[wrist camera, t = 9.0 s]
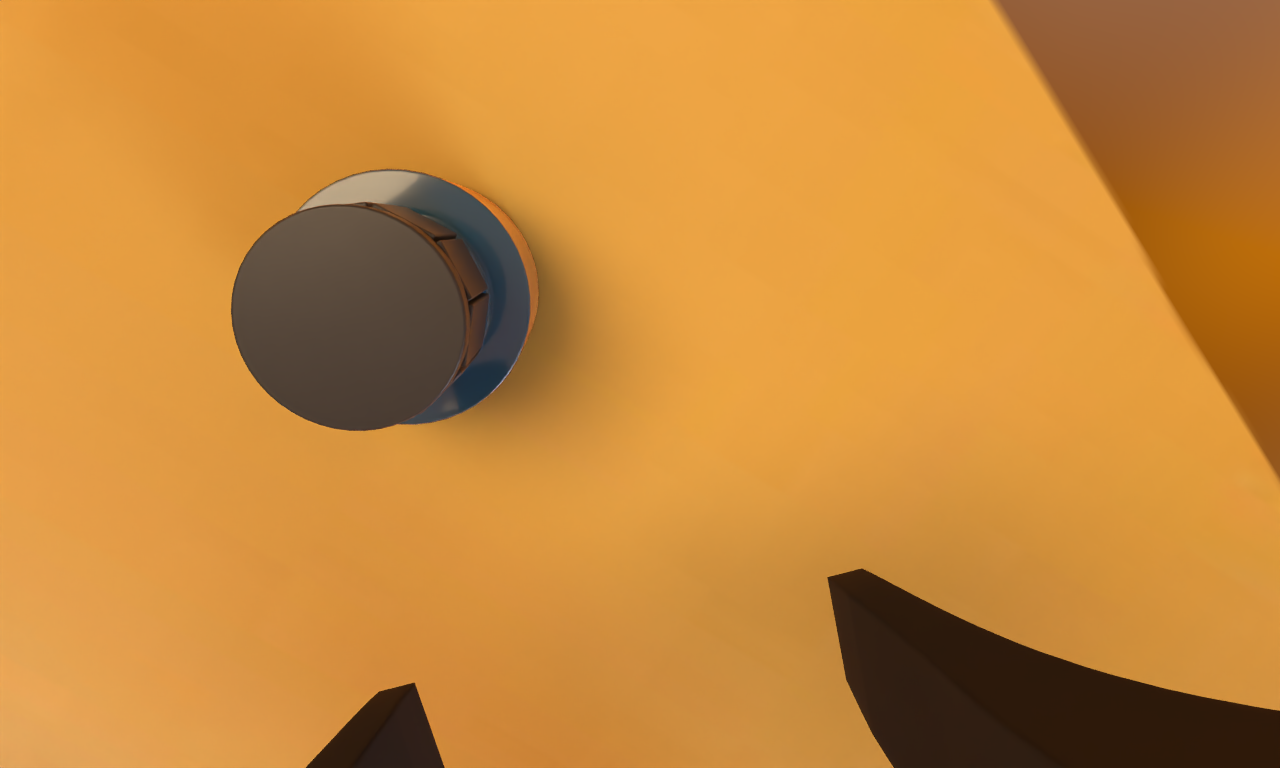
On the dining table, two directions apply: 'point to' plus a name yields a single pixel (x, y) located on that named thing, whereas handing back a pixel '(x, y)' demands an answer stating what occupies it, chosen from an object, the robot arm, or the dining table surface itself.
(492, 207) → the bottle
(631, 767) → the dining table surface
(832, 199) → the dining table surface
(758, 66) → the dining table surface
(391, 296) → the cap
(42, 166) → the dining table surface
